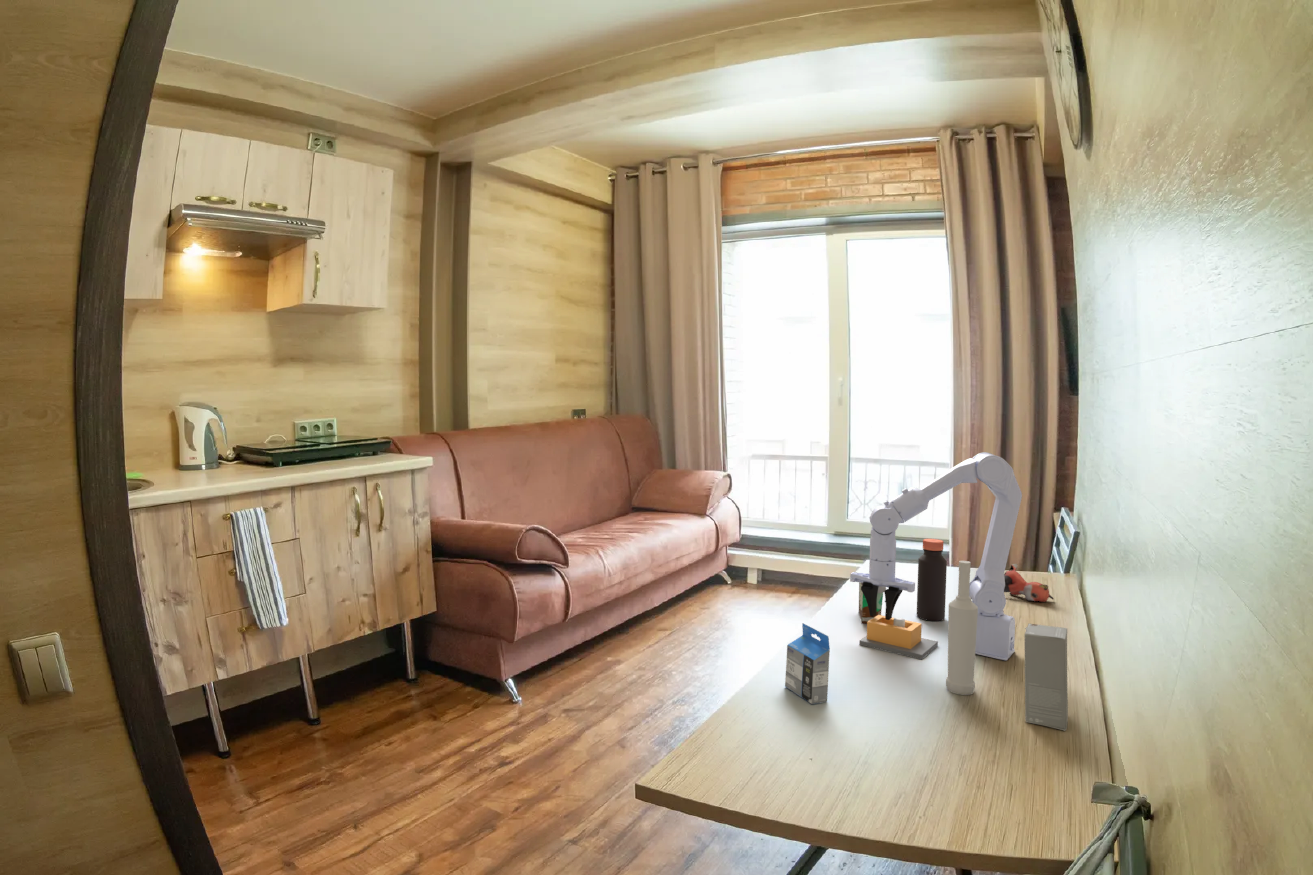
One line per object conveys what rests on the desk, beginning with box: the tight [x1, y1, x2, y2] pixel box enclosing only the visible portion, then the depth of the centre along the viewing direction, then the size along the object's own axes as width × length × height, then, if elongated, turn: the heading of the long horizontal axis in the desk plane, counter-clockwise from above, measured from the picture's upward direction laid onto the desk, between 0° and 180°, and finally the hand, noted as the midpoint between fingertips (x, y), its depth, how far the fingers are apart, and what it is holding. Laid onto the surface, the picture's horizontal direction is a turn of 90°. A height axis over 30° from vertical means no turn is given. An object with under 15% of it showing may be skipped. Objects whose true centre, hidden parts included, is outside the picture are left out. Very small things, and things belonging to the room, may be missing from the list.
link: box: [866, 614, 923, 649], centre depth 162 cm, size 10×7×4 cm
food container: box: [858, 582, 887, 625], centre depth 180 cm, size 12×6×10 cm, turn 168°
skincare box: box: [1024, 623, 1069, 732], centre depth 125 cm, size 8×7×16 cm
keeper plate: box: [859, 617, 939, 660], centre depth 161 cm, size 14×11×6 cm
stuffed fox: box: [1004, 563, 1055, 603], centre depth 201 cm, size 8×11×12 cm
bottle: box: [945, 560, 978, 696], centre depth 136 cm, size 5×5×25 cm
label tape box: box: [784, 623, 831, 705], centre depth 134 cm, size 9×4×12 cm, turn 23°
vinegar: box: [916, 538, 948, 622], centre depth 181 cm, size 7×7×20 cm
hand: (880, 617), depth 163 cm, fingers open, 3 cm apart
